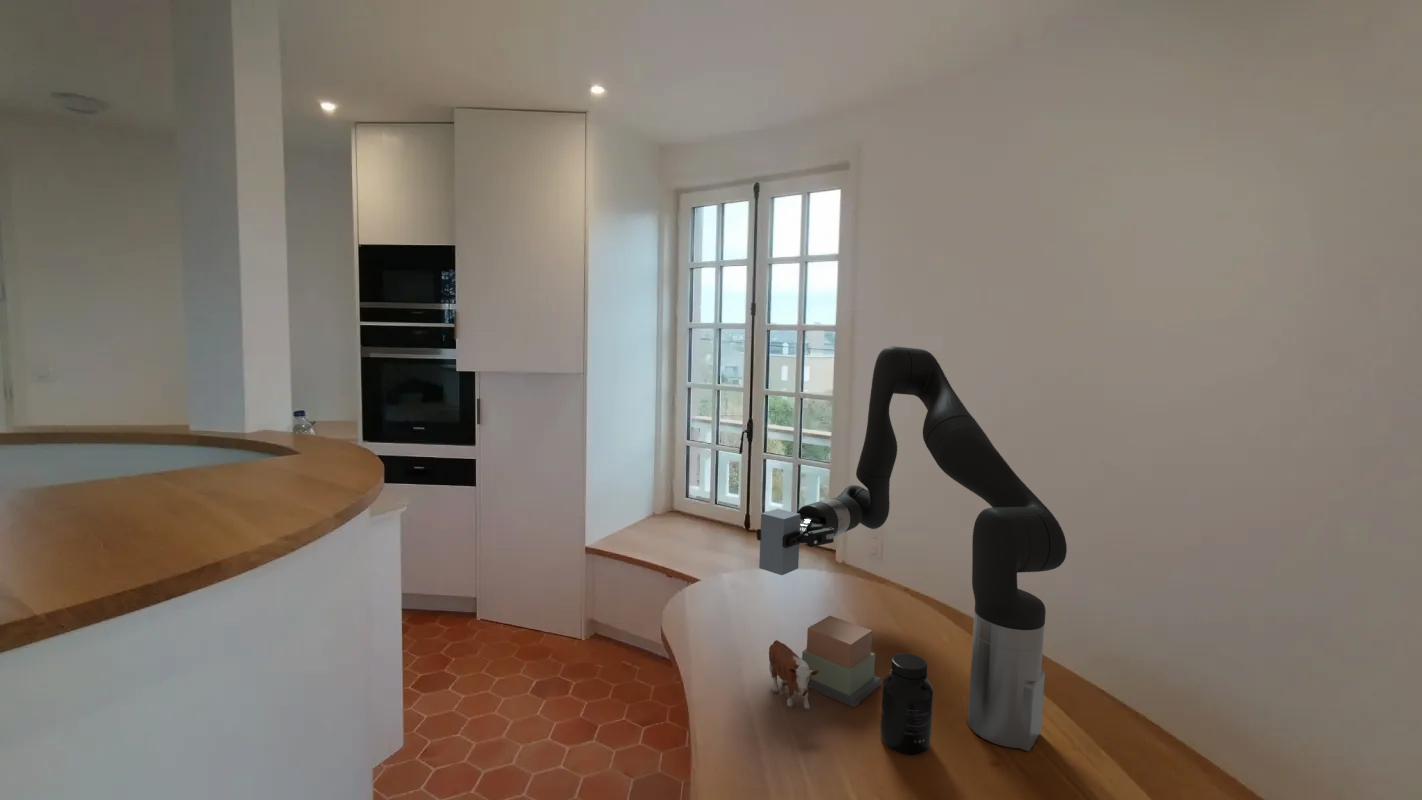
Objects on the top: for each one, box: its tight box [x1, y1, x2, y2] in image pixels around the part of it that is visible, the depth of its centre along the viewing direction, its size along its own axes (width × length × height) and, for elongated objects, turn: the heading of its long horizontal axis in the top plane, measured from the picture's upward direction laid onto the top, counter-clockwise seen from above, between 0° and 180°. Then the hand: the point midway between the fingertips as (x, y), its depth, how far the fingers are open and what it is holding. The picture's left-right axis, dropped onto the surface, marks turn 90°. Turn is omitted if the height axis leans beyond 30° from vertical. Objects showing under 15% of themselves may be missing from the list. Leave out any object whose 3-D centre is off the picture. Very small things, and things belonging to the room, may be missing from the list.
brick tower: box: [801, 615, 882, 708], centre depth 102 cm, size 11×9×9 cm
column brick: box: [758, 508, 800, 576], centre depth 111 cm, size 5×5×10 cm
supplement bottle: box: [879, 652, 934, 757], centre depth 87 cm, size 7×7×12 cm
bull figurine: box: [768, 639, 819, 711], centre depth 97 cm, size 4×13×8 cm, turn 15°
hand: (771, 538), depth 109 cm, fingers closed on column brick, 5 cm apart
